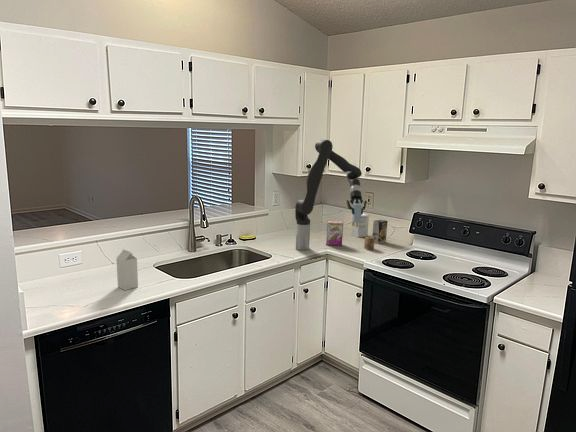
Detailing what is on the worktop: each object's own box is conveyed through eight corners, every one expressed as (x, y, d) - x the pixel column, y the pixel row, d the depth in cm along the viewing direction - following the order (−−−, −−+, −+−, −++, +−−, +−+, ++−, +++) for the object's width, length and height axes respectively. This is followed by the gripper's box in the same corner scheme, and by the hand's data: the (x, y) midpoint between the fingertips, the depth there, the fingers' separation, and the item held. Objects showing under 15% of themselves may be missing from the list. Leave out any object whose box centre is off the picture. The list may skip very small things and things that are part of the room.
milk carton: (124, 290, 218) (123, 253, 214) (117, 287, 222) (115, 250, 218) (138, 287, 223) (136, 250, 219) (130, 283, 227) (129, 247, 224)
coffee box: (378, 244, 320) (380, 222, 317) (371, 242, 325) (373, 220, 322) (386, 242, 326) (388, 220, 323) (379, 240, 331) (380, 219, 328)
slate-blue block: (353, 222, 293) (354, 204, 290) (352, 221, 297) (353, 203, 295) (360, 222, 293) (361, 204, 290) (359, 221, 297) (360, 203, 295)
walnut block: (366, 250, 304) (367, 238, 302) (364, 248, 309) (365, 236, 307) (373, 249, 305) (374, 238, 303) (371, 247, 309) (371, 236, 308)
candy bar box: (326, 245, 313) (327, 222, 310) (326, 243, 318) (327, 221, 315) (342, 246, 312) (343, 223, 309) (342, 244, 317) (343, 221, 314)
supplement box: (350, 234, 347) (352, 213, 344) (360, 233, 351) (362, 212, 348) (357, 237, 339) (359, 215, 335) (367, 236, 343) (369, 214, 339)
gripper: (345, 189, 298) (347, 210, 289) (367, 190, 298) (369, 211, 289) (344, 196, 304) (345, 217, 295) (365, 196, 305) (367, 217, 295)
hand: (357, 214), depth 292 cm, fingers closed on slate-blue block, 4 cm apart
